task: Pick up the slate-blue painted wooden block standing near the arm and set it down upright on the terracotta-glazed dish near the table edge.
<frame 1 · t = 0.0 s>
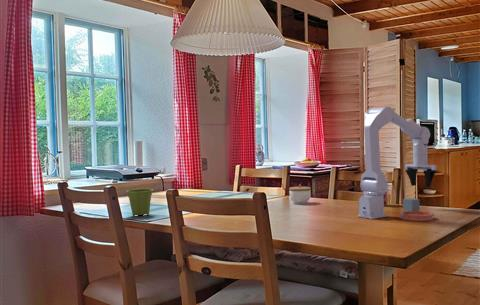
hand: (420, 186, 201), 10 cm above the table, tool pointing down, fingers open, 7 cm apart
lidded jar: (300, 203, 231), on the table
plant pot: (140, 215, 208), on the table
slate block: (411, 213, 192), on the table
soda can: (379, 205, 217), on the table
terracotta dish: (416, 218, 180), on the table
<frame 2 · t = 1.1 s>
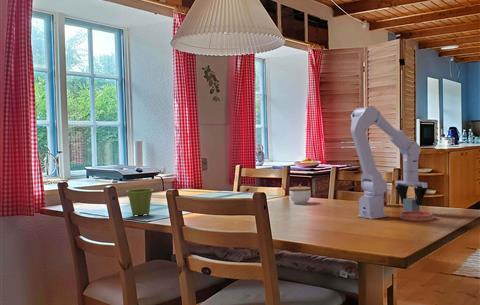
hand: (411, 204, 192), 4 cm above the table, tool pointing down, fingers open, 7 cm apart
nothing on the table moved.
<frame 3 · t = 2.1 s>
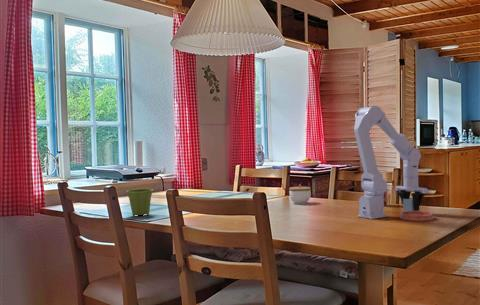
hand: (411, 209, 192), 2 cm above the table, tool pointing down, fingers closed on slate block, 4 cm apart
slate block: (411, 213, 192), on the table, touching gripper
everything else where it was.
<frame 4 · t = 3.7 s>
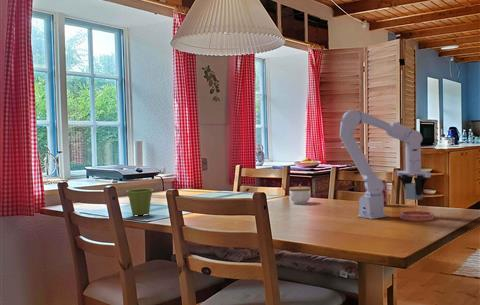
hand: (413, 194, 185), 9 cm above the table, tool pointing down, fingers closed on slate block, 4 cm apart
slate block: (413, 198, 185), point 7 cm above the table, touching gripper
everything else where it was.
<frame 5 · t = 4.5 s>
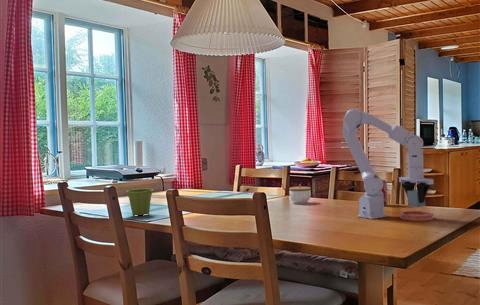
hand: (416, 201, 180), 6 cm above the table, tool pointing down, fingers closed on slate block, 4 cm apart
slate block: (416, 206, 180), point 5 cm above the table, touching gripper
everything else where it was.
when the fingers open (4 cm above the table, at t = 5.3 s): slate block drops 1 cm, resting on terracotta dish.
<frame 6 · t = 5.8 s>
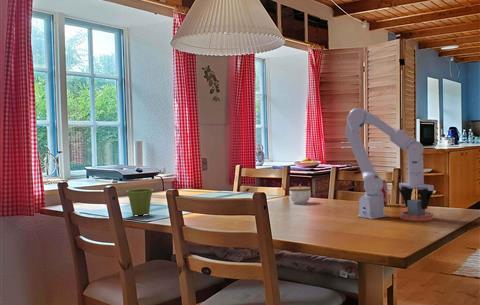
hand: (416, 207, 180), 4 cm above the table, tool pointing down, fingers open, 7 cm apart
slate block: (416, 215, 181), point 1 cm above the table, touching terracotta dish
everything else where it was.
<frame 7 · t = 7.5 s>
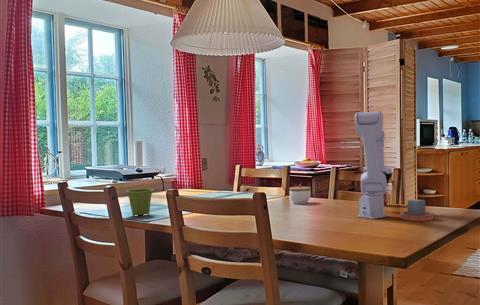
hand: (377, 189, 199), 9 cm above the table, tool pointing down, fingers open, 7 cm apart
nothing on the table moved.
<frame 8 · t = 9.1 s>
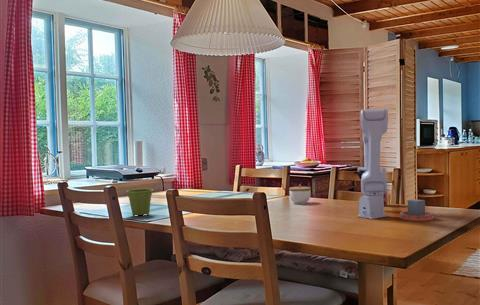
hand: (371, 189, 202), 9 cm above the table, tool pointing down, fingers open, 7 cm apart
nothing on the table moved.
at the end: slate block inside the target area on the terracotta dish (0.1 cm from its centre), point 1.0 cm above the terracotta dish's base; slate block tilted 0°; slate block touching terracotta dish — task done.
